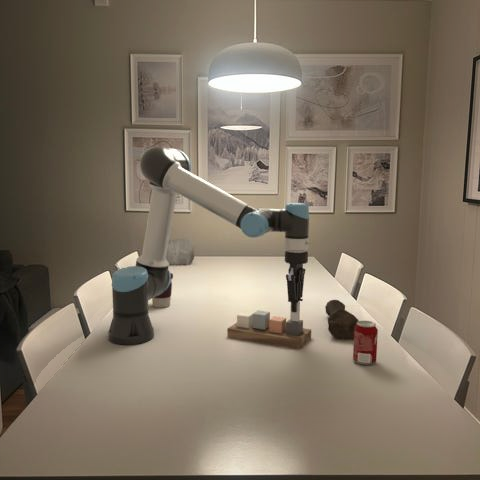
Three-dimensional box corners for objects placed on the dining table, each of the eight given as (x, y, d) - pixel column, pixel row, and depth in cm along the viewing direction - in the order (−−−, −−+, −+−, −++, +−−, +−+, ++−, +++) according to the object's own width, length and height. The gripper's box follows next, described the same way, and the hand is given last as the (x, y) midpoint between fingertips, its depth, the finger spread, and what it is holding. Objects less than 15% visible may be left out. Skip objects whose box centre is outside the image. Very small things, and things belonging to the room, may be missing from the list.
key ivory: (248, 330, 168) (248, 316, 167) (237, 328, 170) (237, 315, 169) (253, 327, 172) (253, 313, 171) (242, 325, 174) (242, 311, 173)
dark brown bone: (351, 348, 164) (338, 330, 192) (366, 320, 164) (351, 307, 192) (322, 332, 164) (313, 316, 192) (338, 304, 164) (327, 293, 192)
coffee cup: (168, 309, 199) (168, 273, 197) (145, 308, 201) (145, 272, 199) (176, 303, 209) (176, 268, 207) (154, 301, 211) (154, 267, 209)
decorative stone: (159, 265, 290) (163, 262, 300) (192, 266, 289) (195, 262, 299) (158, 238, 288) (162, 235, 298) (192, 238, 287) (194, 235, 297)
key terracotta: (281, 336, 163) (281, 321, 162) (269, 334, 165) (269, 319, 164) (285, 332, 167) (286, 317, 166) (273, 330, 169) (274, 316, 168)
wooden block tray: (299, 349, 156) (300, 340, 156) (227, 336, 167) (227, 328, 167) (311, 337, 167) (311, 329, 167) (242, 326, 178) (242, 318, 178)
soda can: (372, 368, 142) (374, 328, 140) (349, 363, 145) (351, 324, 144) (379, 360, 147) (380, 322, 146) (357, 356, 151) (358, 318, 149)
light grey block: (264, 329, 165) (264, 315, 164) (252, 327, 167) (253, 313, 166) (269, 326, 169) (269, 312, 168) (257, 324, 171) (258, 310, 170)
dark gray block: (298, 338, 160) (298, 324, 160) (285, 336, 162) (286, 322, 161) (302, 334, 164) (303, 320, 163) (290, 332, 166) (290, 318, 165)
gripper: (301, 254, 152) (299, 327, 155) (313, 248, 163) (311, 316, 167) (278, 252, 155) (277, 324, 158) (292, 247, 166) (290, 314, 170)
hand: (294, 320), depth 162 cm, fingers closed
